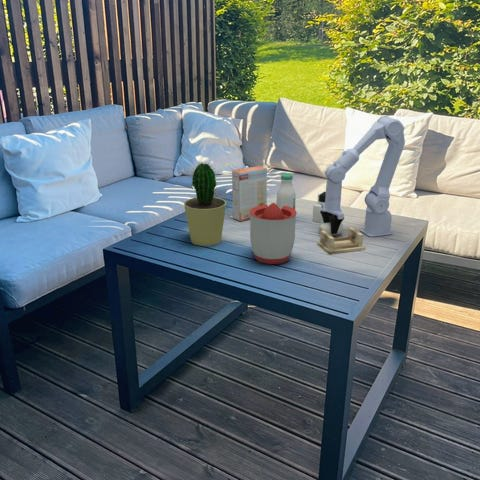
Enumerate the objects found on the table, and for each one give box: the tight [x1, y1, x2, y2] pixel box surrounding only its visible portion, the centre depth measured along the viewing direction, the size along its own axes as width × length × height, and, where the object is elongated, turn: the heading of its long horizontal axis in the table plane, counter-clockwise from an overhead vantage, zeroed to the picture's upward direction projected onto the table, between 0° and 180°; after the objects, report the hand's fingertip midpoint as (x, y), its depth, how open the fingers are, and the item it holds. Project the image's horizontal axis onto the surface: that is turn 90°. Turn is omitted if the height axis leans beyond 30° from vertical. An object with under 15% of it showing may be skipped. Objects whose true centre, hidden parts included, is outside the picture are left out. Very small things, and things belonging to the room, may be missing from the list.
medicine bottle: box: [312, 190, 334, 224], centre depth 209 cm, size 7×7×12 cm
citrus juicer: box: [249, 202, 298, 265], centre depth 172 cm, size 16×17×20 cm
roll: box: [318, 221, 344, 236], centre depth 194 cm, size 8×5×5 cm, turn 108°
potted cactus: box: [183, 162, 227, 247], centre depth 185 cm, size 15×15×30 cm
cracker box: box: [231, 165, 268, 222], centre depth 211 cm, size 14×6×21 cm, turn 124°
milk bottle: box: [275, 173, 296, 210], centre depth 205 cm, size 8×8×20 cm
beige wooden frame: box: [316, 226, 366, 255], centre depth 183 cm, size 10×14×6 cm
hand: (330, 231), depth 195 cm, fingers closed on roll, 5 cm apart
